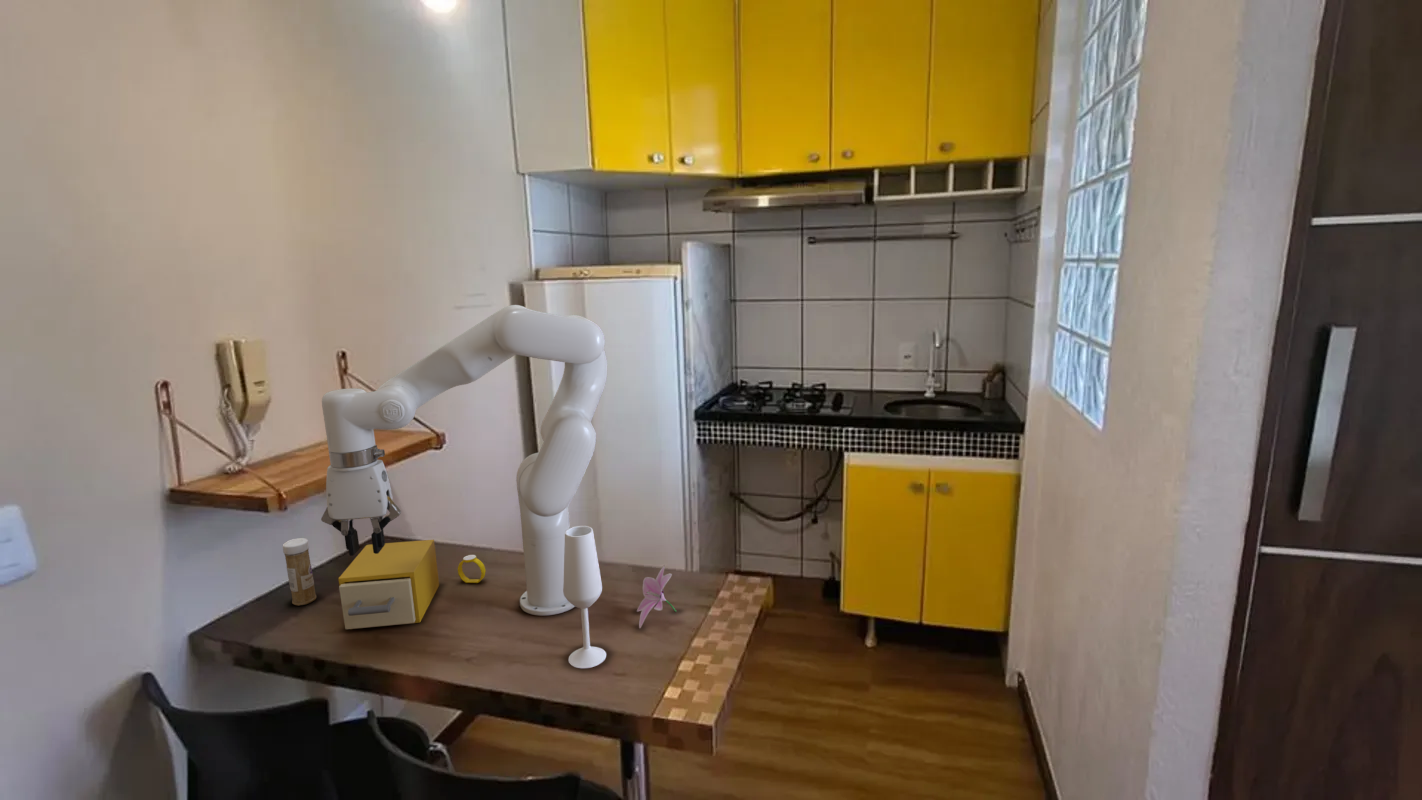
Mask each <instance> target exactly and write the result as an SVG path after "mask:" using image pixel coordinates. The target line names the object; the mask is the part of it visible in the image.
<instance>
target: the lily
mask: <svg viewBox="0 0 1422 800" xmlns="http://www.w3.org/2000/svg"><path fill="white" fill-rule="evenodd" d="M665 567H666V564H663V566H661V568H660V569H659V572H658V574H657V576H656V578H654V577H651V576H645V577H644V578H643V581H642V594H643V597H644V598H643V599H642V601H641V602H640V603H639V604H638V607H637V610H636V612H637V613H638V612H640V615H639V620H638V628H639V629H641V628H642V627H643V624H644V622H645V621H646V619H647V617H648V615H649V613H650V612H651V610H652V609H653V610H655V611H663V608H664V607H663V602H666V603H667V604H668V605H669V606H670V607H671V609H672V610H673V611H674V612H675V613H677V610H676V608H675V607H674V606H673V604H672V603H671V602H670V601H669V600H667V599H666V597H665V593H664V591H665V590H664V588H665V587H666V585H667V584H668V582H669V581H670V579H671V578H672V576H673V573H666V574H665V569H666V568H665Z"/></svg>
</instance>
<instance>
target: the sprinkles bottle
mask: <svg viewBox="0 0 1422 800" xmlns="http://www.w3.org/2000/svg"><path fill="white" fill-rule="evenodd" d="M309 548H310V545H309V540H308V538H305V537H299V538H292V539H289V540H287V541H285V542H284V543H283V544H282V552H283V554H284V558H285V564H286V572H287V578H288V585H289V590H290V593H291V599H292V600H291V603H292V605H294V606H299V607H300V606H306V605H308V604H311V603H312V602H314V601H316V599H317V594H316V589H315V579H314V574H313V569H312V564H311V559H310V558H311V557H310V552H309Z"/></svg>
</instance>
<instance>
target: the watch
mask: <svg viewBox="0 0 1422 800" xmlns="http://www.w3.org/2000/svg"><path fill="white" fill-rule="evenodd" d="M464 563H466V564H470V563H474V564H475V565H477V567H478V568H479V570H480V578H469V577H468V576H466V575H465V573H464V571H463V565H464ZM486 573H487V572H486V565H485V564H484V563H483V562H482V561H481V560H480V559H479V558H477V555H476V554H468V555H466V556H464V557H463V558H462V560H461V561H460V562H459V564H458V565H457V575H458V576H459V578H460V580H461V581H463V582H464V583H465V584H479V583H481V581H482V580H483V579H484V578H485V577H486V576H485V575H486Z"/></svg>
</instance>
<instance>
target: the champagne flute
mask: <svg viewBox="0 0 1422 800" xmlns="http://www.w3.org/2000/svg"><path fill="white" fill-rule="evenodd" d="M602 592H603V583H602V578H601V570H600V565H599V559H598V552H597V546H596V540H595V534H594V529H593V527H591V526H588V525H574V526H572V527H571V526H570V528H569V529H567V530H566V531H565V545H564V583H563V593H564V596H565V598H566V599H567V600H568V601H569V602H570V603H571V604H572V605H574V606H575V608H577V609H580V618H581V619H580V620H581V633H582V644H583V645H582V647H581V648H578V649H576V650H574V651H573V652H571V653H570V655H569V656H568V663H569V664H570V665H571V666H572V667H574V668H577V669H591V668H593V667H596V666H599V665H601V664H602V663H603V662H604V661H605V660H606V658H607V651H605V650H604V649H603V648H601V647H599V646H592V645H591V639H590V637H591V636H590V623H589V608H590V607H591V606H593V604H595V602H597V600H598V599H600V598H599V597H601V594H602Z"/></svg>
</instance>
